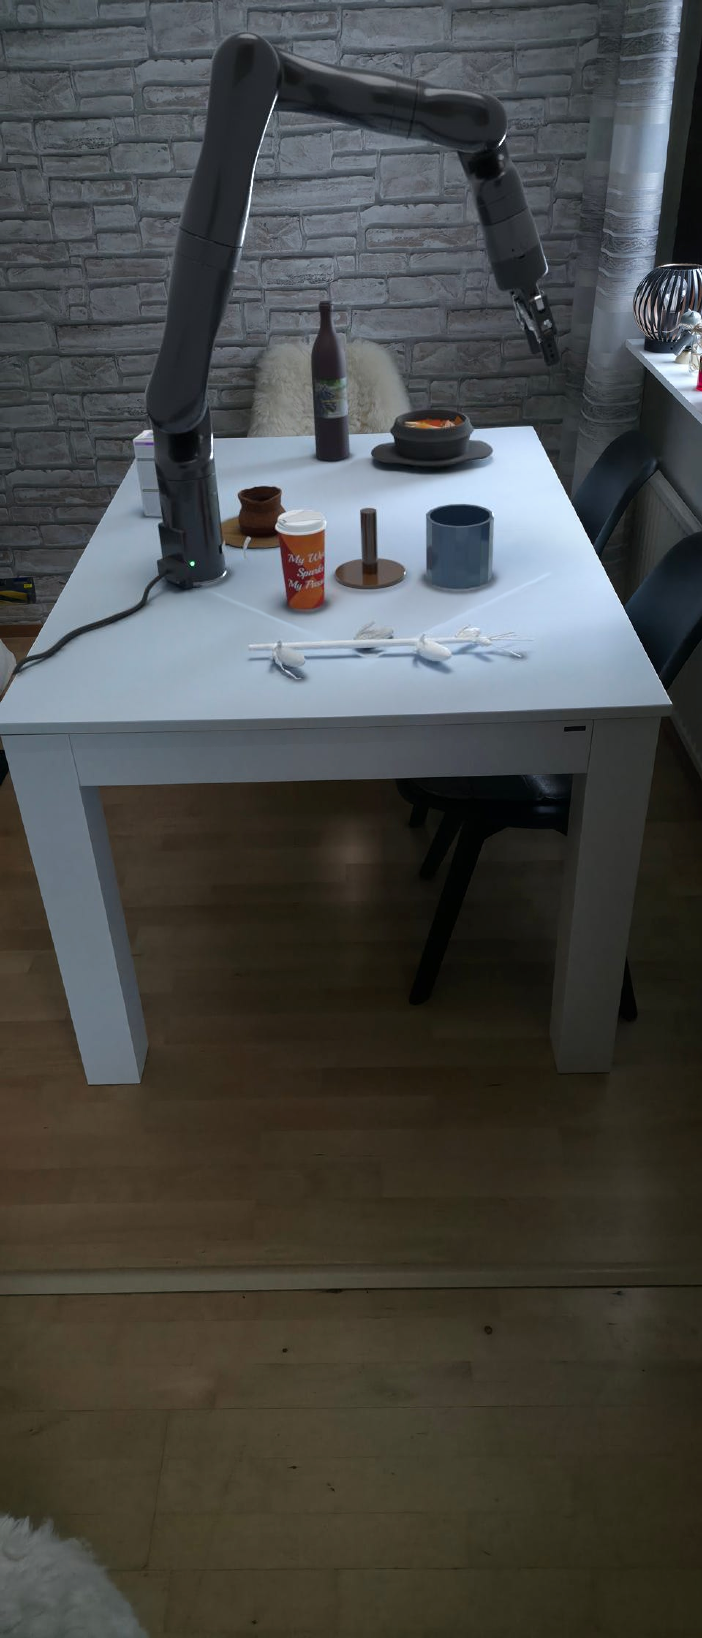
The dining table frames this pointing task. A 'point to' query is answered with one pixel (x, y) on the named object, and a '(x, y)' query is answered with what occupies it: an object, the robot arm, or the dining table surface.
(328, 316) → the wine bottle
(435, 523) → the blue faceted canister
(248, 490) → the ceramic pot
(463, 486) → the dining table surface
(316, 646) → the dried plant stem
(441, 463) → the casserole
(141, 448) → the syrup box
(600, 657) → the dining table surface
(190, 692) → the dining table surface
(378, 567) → the paper towel holder
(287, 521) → the paper cup
